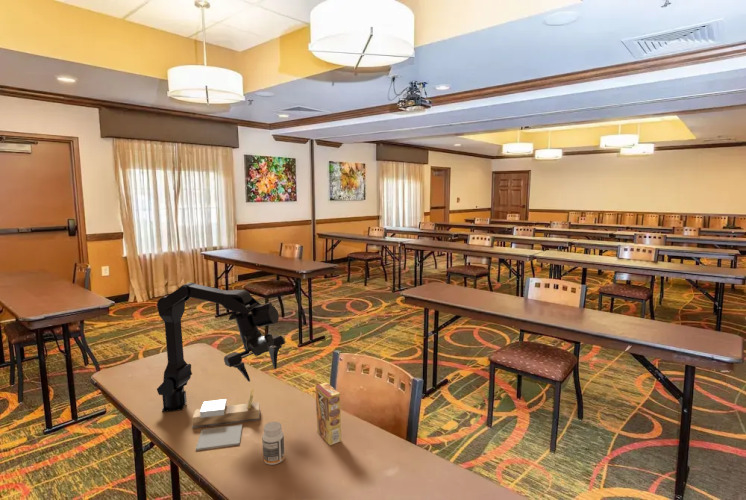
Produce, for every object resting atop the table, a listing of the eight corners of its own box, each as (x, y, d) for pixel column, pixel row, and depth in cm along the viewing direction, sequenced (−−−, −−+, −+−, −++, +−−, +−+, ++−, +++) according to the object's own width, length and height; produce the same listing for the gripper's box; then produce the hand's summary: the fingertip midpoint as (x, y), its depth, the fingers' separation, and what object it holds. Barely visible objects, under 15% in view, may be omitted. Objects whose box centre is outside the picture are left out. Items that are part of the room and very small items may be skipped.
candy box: (342, 441, 122) (341, 393, 120) (329, 446, 120) (328, 397, 118) (328, 427, 129) (327, 381, 127) (316, 432, 127) (314, 385, 125)
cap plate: (200, 417, 129) (200, 411, 129) (204, 407, 135) (203, 401, 135) (224, 415, 131) (223, 409, 130) (226, 404, 137) (226, 399, 137)
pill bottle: (273, 450, 118) (272, 418, 117) (288, 456, 115) (287, 423, 114) (259, 461, 113) (257, 428, 112) (274, 468, 110) (272, 434, 109)
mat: (195, 450, 118) (195, 448, 118) (202, 431, 128) (201, 429, 128) (239, 444, 121) (239, 442, 121) (242, 426, 131) (242, 424, 130)
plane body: (192, 428, 129) (191, 418, 129) (195, 419, 135) (195, 409, 134) (259, 420, 134) (259, 410, 133) (260, 411, 139) (259, 401, 139)
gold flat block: (246, 409, 133) (250, 395, 133) (247, 402, 137) (251, 388, 137) (250, 409, 133) (253, 395, 133) (251, 403, 137) (254, 389, 137)
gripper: (227, 343, 120) (243, 393, 122) (284, 320, 131) (298, 366, 132) (217, 339, 129) (231, 386, 131) (271, 318, 140) (284, 361, 141)
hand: (262, 374), depth 134 cm, fingers open, 9 cm apart
